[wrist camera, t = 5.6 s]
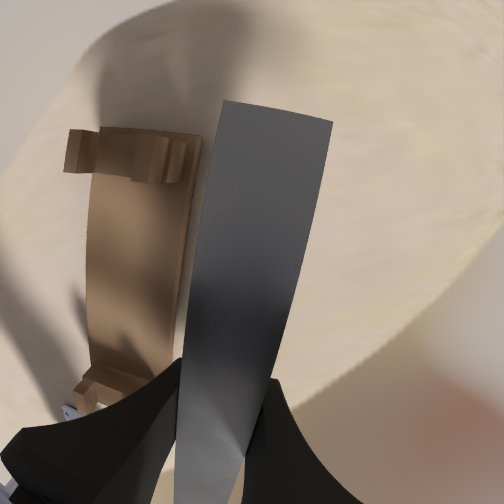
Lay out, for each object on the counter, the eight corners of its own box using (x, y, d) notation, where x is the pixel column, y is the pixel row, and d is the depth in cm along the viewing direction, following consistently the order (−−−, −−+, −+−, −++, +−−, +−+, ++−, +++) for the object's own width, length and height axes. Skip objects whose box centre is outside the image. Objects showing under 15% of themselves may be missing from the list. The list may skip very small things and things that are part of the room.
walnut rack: (169, 401, 20) (149, 444, 15) (99, 376, 20) (70, 411, 15) (202, 137, 15) (174, 123, 11) (109, 128, 15) (61, 119, 11)
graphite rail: (224, 493, 13) (218, 525, 10) (183, 483, 13) (173, 515, 11) (318, 135, 8) (332, 121, 6) (237, 119, 8) (223, 100, 6)
